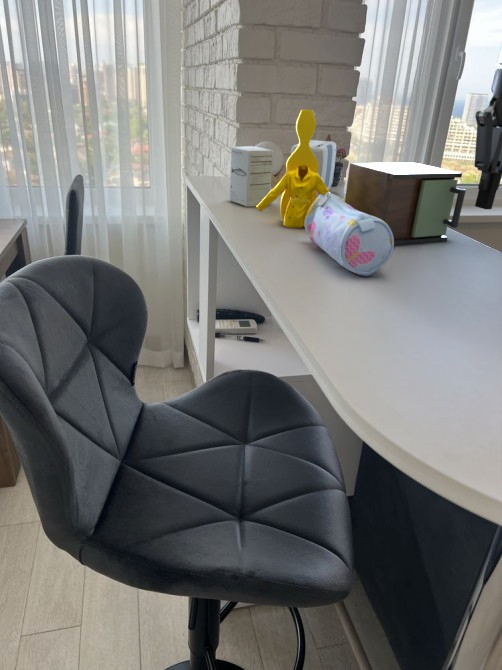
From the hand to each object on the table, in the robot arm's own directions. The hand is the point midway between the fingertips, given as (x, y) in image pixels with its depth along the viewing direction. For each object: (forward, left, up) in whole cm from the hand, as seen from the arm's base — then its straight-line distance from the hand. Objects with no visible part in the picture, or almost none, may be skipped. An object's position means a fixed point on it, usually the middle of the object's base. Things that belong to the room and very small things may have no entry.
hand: (483, 207), depth 96 cm
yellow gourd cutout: (+32, -38, -7) cm, 50 cm away
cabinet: (+16, -3, -7) cm, 18 cm away
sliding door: (+9, +3, -6) cm, 11 cm away
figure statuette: (+35, -5, -7) cm, 36 cm away
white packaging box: (+47, -23, -7) cm, 53 cm away
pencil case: (+27, +17, -7) cm, 33 cm away
